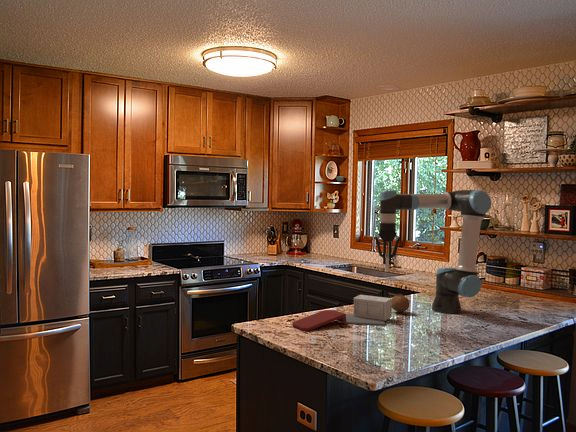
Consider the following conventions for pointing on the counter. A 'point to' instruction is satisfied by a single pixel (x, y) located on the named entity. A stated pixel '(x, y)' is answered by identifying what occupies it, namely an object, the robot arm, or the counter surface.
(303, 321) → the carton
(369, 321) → the mat
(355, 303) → the supplement box
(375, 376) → the counter surface
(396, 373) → the counter surface
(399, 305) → the onion
